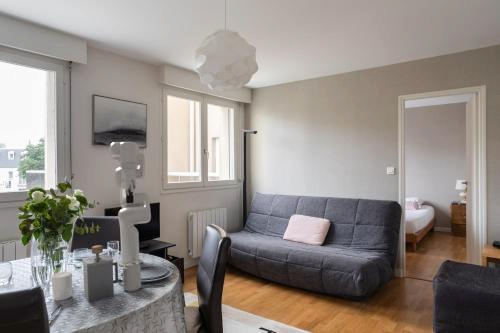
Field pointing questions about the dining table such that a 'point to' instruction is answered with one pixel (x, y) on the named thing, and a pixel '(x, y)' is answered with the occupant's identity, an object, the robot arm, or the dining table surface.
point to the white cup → (62, 285)
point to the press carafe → (99, 277)
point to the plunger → (97, 250)
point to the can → (132, 276)
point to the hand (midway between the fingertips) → (129, 202)
